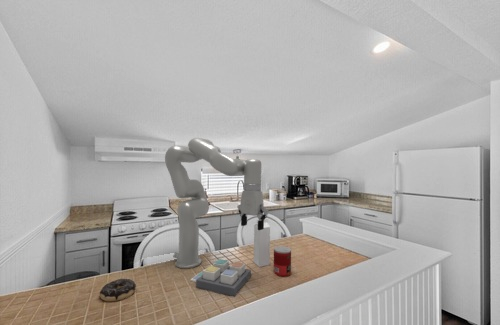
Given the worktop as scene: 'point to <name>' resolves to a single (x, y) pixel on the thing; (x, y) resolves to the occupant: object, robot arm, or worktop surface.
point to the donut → (118, 290)
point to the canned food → (282, 261)
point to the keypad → (224, 288)
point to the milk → (262, 245)
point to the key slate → (229, 277)
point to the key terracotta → (238, 268)
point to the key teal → (221, 265)
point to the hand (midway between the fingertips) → (252, 227)
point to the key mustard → (211, 273)
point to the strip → (197, 276)
